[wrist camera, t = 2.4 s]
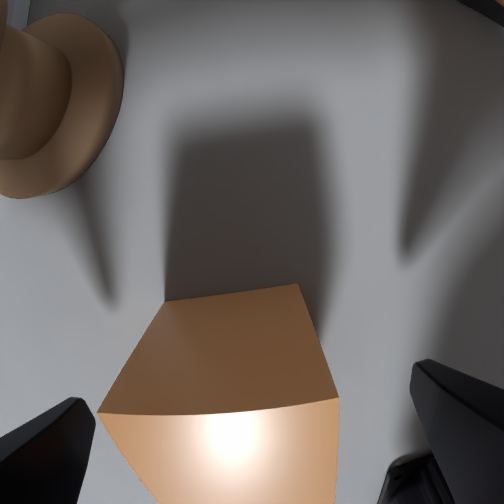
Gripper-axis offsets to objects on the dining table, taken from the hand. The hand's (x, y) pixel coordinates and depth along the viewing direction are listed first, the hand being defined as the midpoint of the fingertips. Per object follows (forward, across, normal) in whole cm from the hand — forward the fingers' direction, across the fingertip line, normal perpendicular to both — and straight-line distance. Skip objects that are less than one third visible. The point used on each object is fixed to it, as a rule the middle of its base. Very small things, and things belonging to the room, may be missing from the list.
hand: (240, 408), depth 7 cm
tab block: (+3, 0, 0) cm, 3 cm away
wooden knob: (+3, +5, -9) cm, 11 cm away
